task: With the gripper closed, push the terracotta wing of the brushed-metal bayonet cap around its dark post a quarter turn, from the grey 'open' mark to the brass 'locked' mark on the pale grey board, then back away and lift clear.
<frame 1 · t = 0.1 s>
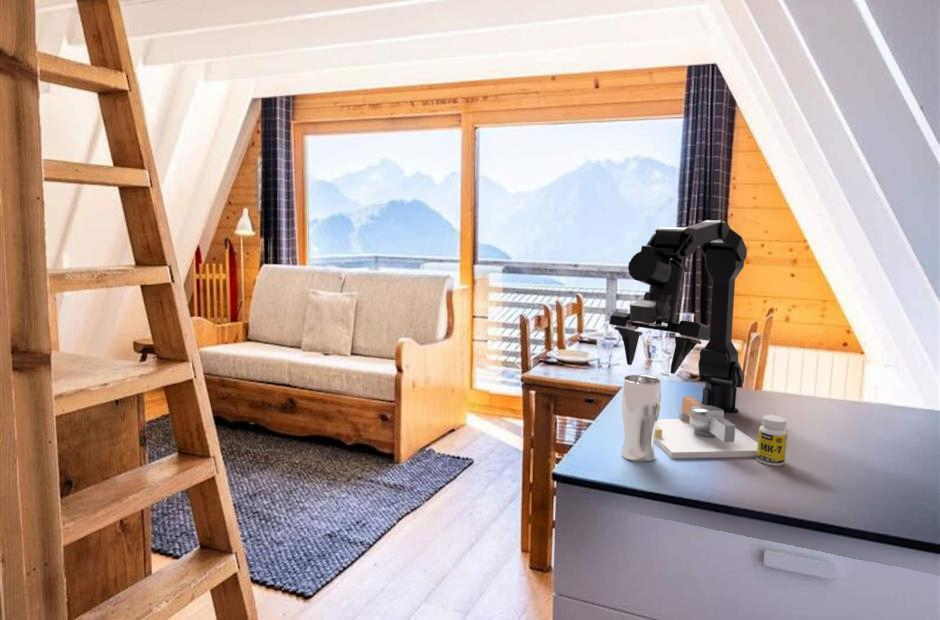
hand: (650, 369, 124), 15 cm above the countertop, tool pointing down, fingers open, 9 cm apart
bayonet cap: (706, 418, 130), point 5 cm above the countertop, hinge at 0.0°
supplement bottle: (770, 462, 119), on the countertop
coupling board: (697, 439, 130), on the countertop
beer glass: (637, 457, 121), on the countertop
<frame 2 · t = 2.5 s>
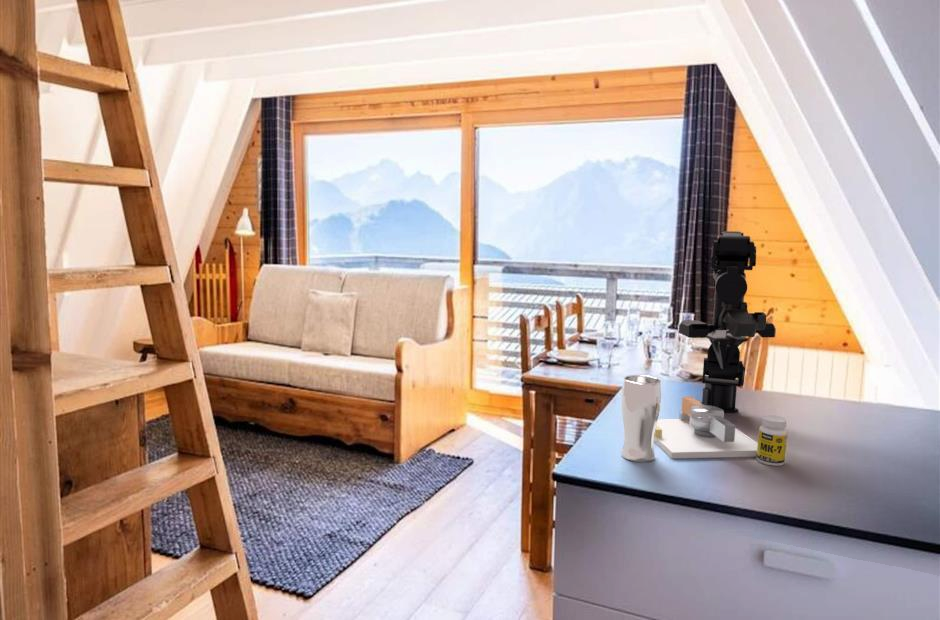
hand: (723, 368, 136), 13 cm above the countertop, tool pointing down, fingers closed
nothing on the countertop moved.
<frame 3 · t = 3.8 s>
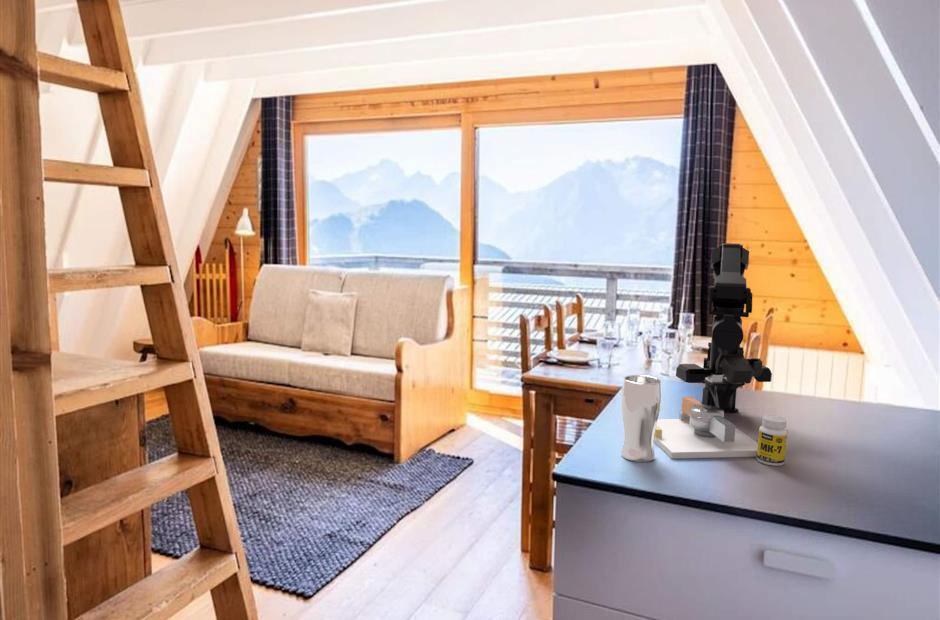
hand: (720, 411, 137), 4 cm above the countertop, tool pointing down, fingers closed
nothing on the countertop moved.
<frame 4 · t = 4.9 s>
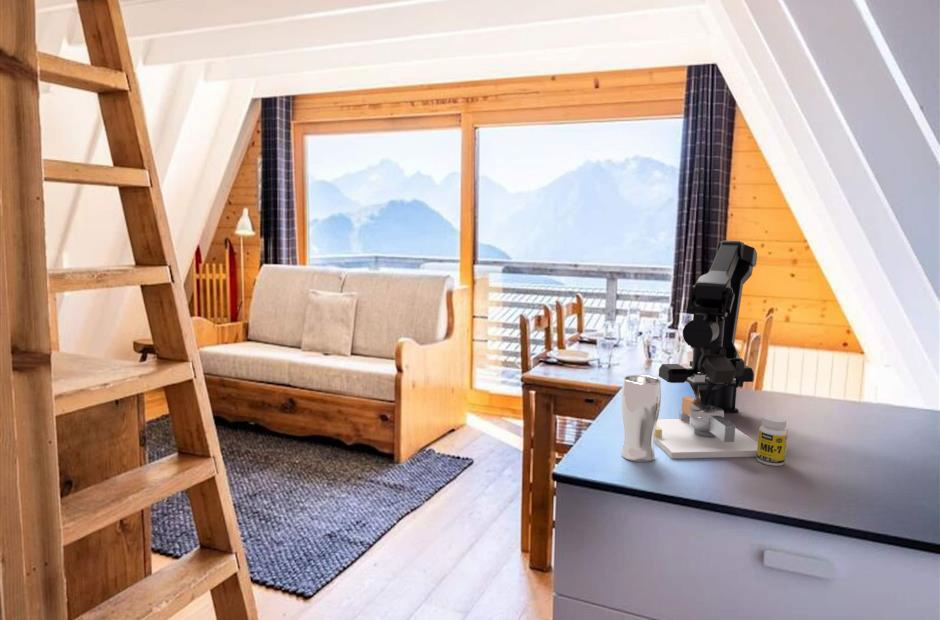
hand: (703, 412, 137), 4 cm above the countertop, tool pointing down, fingers closed
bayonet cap: (706, 418, 130), point 5 cm above the countertop, hinge at 0.0°, touching gripper
everything else where it was.
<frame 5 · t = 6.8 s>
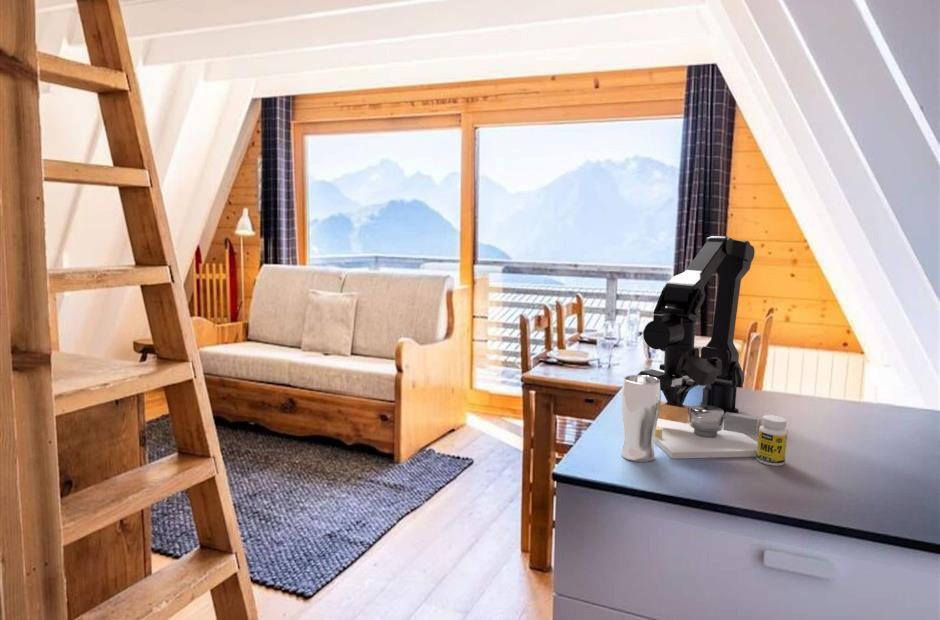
hand: (675, 414, 135), 4 cm above the countertop, tool pointing down, fingers closed
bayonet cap: (706, 418, 130), point 5 cm above the countertop, hinge at 53.4°, touching gripper
everything else where it was.
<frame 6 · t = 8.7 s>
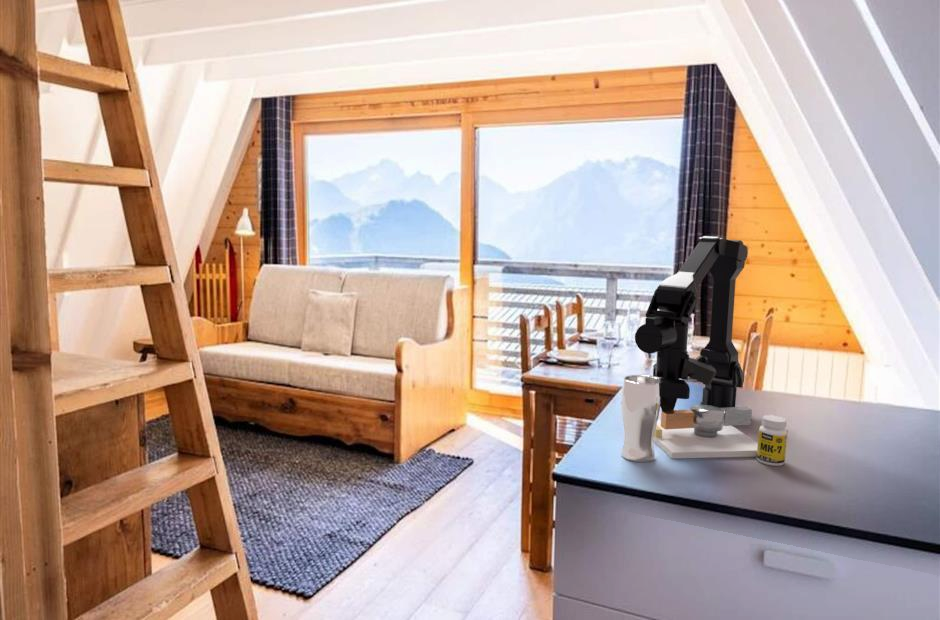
hand: (667, 419, 132), 3 cm above the countertop, tool pointing down, fingers closed
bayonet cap: (706, 418, 130), point 5 cm above the countertop, hinge at 96.1°
everything else where it was.
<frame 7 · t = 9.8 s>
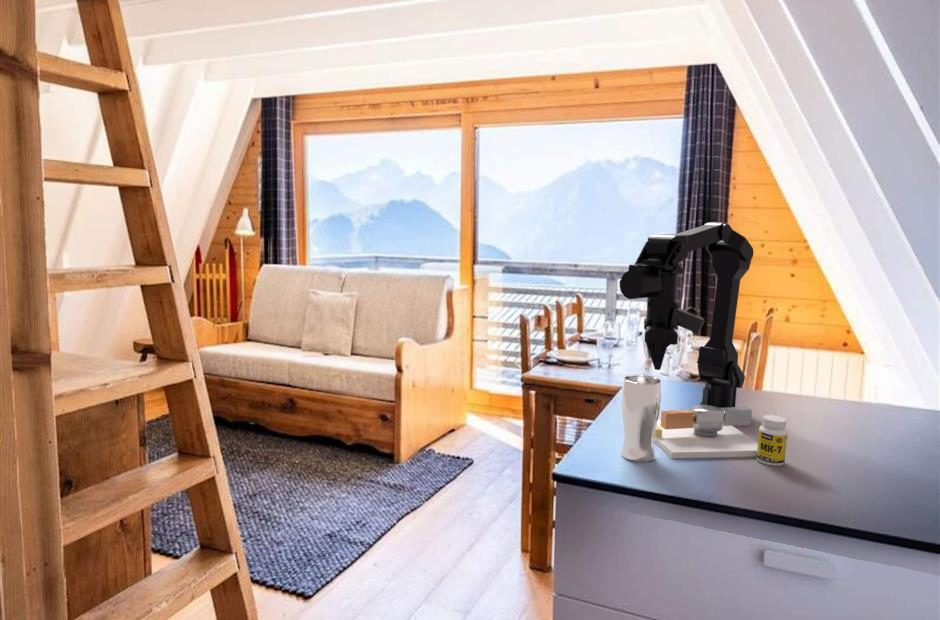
hand: (657, 369, 134), 13 cm above the countertop, tool pointing down, fingers closed
nothing on the countertop moved.
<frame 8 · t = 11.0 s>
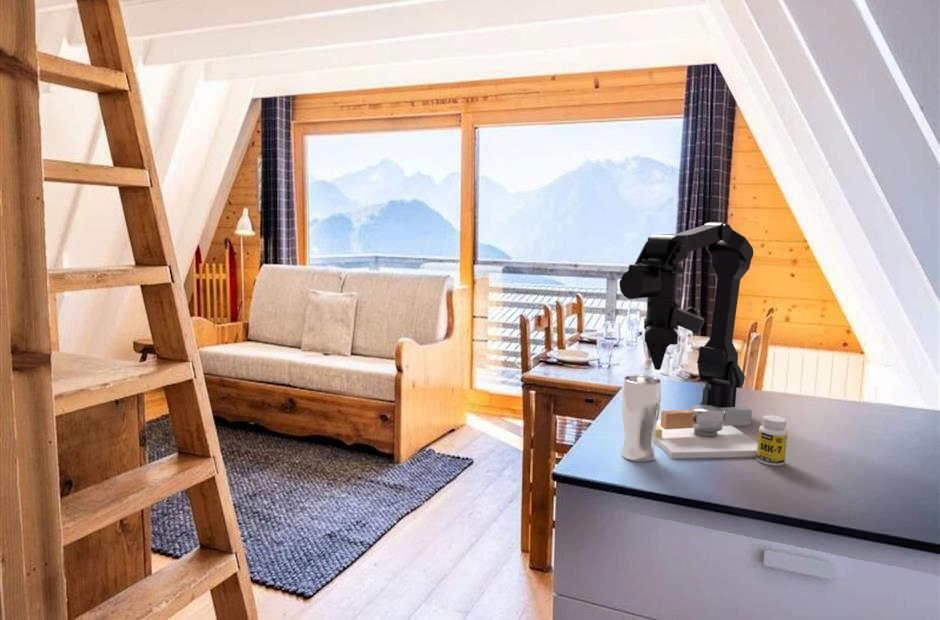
hand: (657, 369, 134), 13 cm above the countertop, tool pointing down, fingers closed
nothing on the countertop moved.
at the end: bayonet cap at +96° (first picture: +0°); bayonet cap touching nothing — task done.
